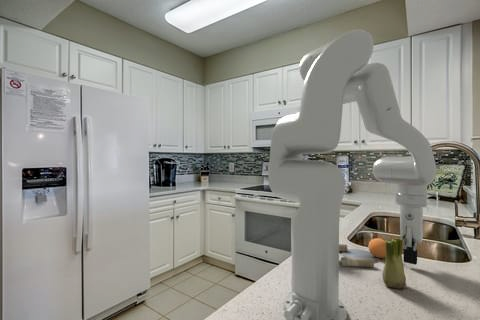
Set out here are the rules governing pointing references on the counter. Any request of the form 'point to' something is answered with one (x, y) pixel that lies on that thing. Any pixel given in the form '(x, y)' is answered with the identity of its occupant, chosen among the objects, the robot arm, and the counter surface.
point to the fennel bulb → (394, 265)
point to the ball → (377, 247)
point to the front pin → (357, 262)
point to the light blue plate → (359, 254)
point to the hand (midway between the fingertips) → (410, 262)
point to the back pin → (342, 248)
